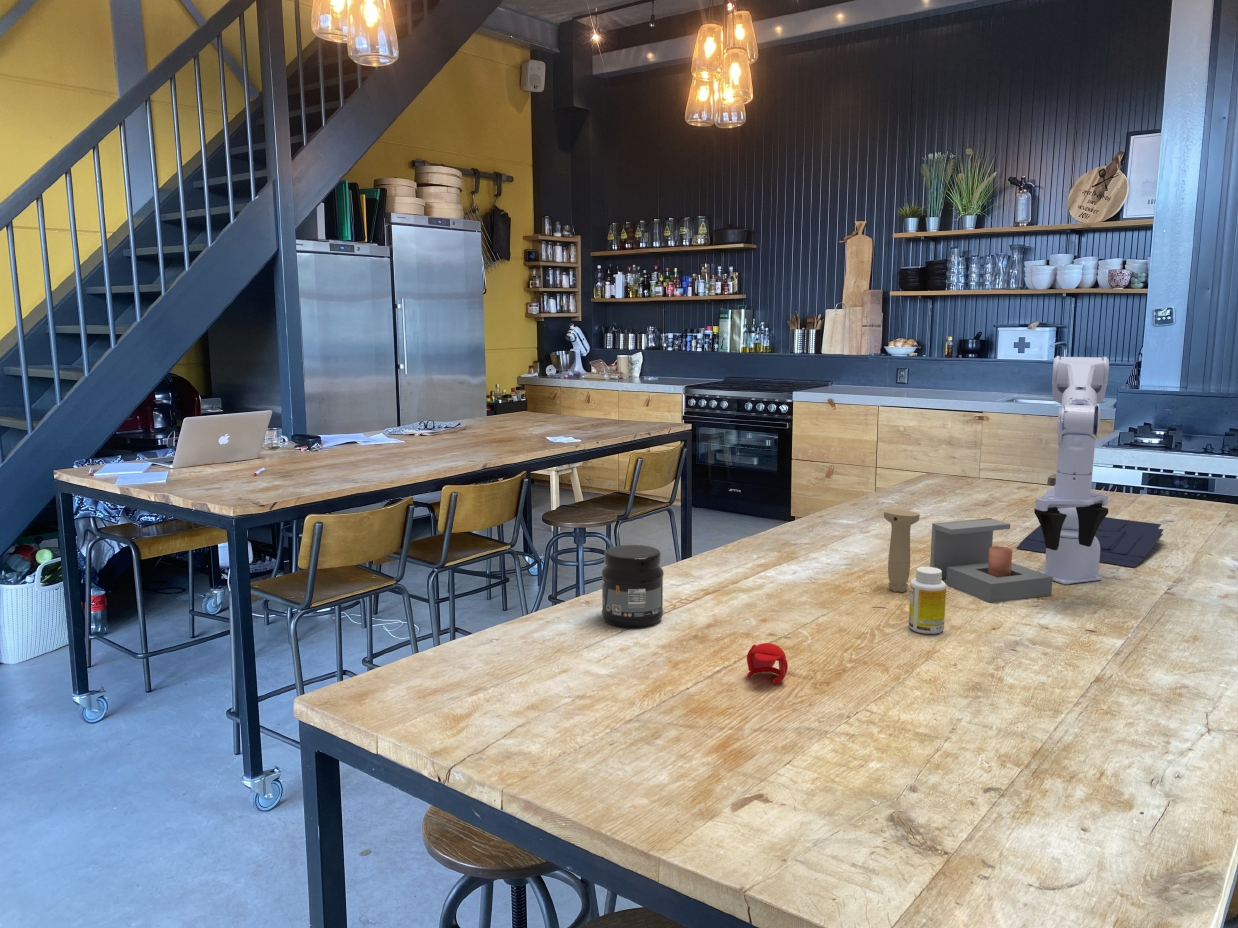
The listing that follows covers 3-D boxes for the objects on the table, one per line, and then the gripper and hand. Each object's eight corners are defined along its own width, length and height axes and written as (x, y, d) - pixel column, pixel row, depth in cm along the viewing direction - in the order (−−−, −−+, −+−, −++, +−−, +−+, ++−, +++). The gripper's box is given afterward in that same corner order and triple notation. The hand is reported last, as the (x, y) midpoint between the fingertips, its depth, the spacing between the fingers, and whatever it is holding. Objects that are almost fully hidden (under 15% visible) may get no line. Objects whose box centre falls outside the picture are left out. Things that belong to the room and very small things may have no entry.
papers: (1170, 536, 208) (1171, 521, 208) (1135, 580, 187) (1136, 563, 186) (1057, 521, 225) (1058, 507, 224) (1013, 559, 203) (1014, 544, 202)
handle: (907, 596, 168) (911, 517, 166) (876, 589, 173) (879, 512, 170) (919, 590, 172) (923, 513, 169) (888, 584, 176) (891, 508, 174)
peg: (998, 585, 175) (1000, 545, 174) (1014, 591, 171) (1017, 550, 170) (982, 588, 173) (984, 547, 172) (997, 594, 170) (1000, 552, 168)
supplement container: (632, 605, 163) (632, 540, 161) (676, 619, 156) (676, 551, 154) (589, 619, 156) (588, 551, 154) (632, 634, 149) (632, 563, 147)
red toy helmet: (743, 669, 134) (744, 633, 133) (781, 670, 134) (782, 634, 133) (749, 690, 127) (750, 652, 126) (789, 690, 126) (790, 652, 125)
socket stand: (986, 571, 185) (990, 518, 183) (1051, 594, 169) (1055, 537, 167) (929, 577, 180) (932, 523, 179) (990, 602, 165) (994, 543, 163)
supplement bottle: (951, 632, 149) (954, 571, 148) (925, 637, 147) (929, 576, 145) (926, 622, 154) (929, 563, 153) (901, 626, 152) (904, 567, 150)
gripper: (1059, 478, 155) (1053, 556, 157) (1124, 473, 160) (1118, 548, 162) (1028, 471, 162) (1023, 546, 164) (1092, 467, 166) (1086, 539, 169)
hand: (1068, 547), depth 163 cm, fingers open, 7 cm apart
